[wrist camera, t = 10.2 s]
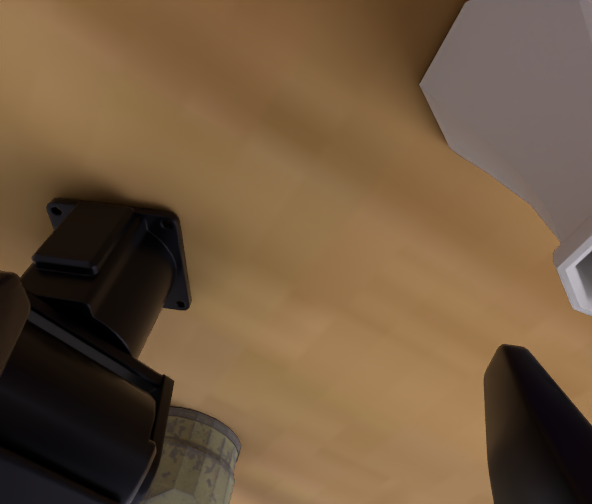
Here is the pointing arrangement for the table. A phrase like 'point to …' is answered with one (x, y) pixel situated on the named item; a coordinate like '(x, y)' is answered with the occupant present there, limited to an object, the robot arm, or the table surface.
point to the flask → (526, 114)
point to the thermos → (194, 461)
